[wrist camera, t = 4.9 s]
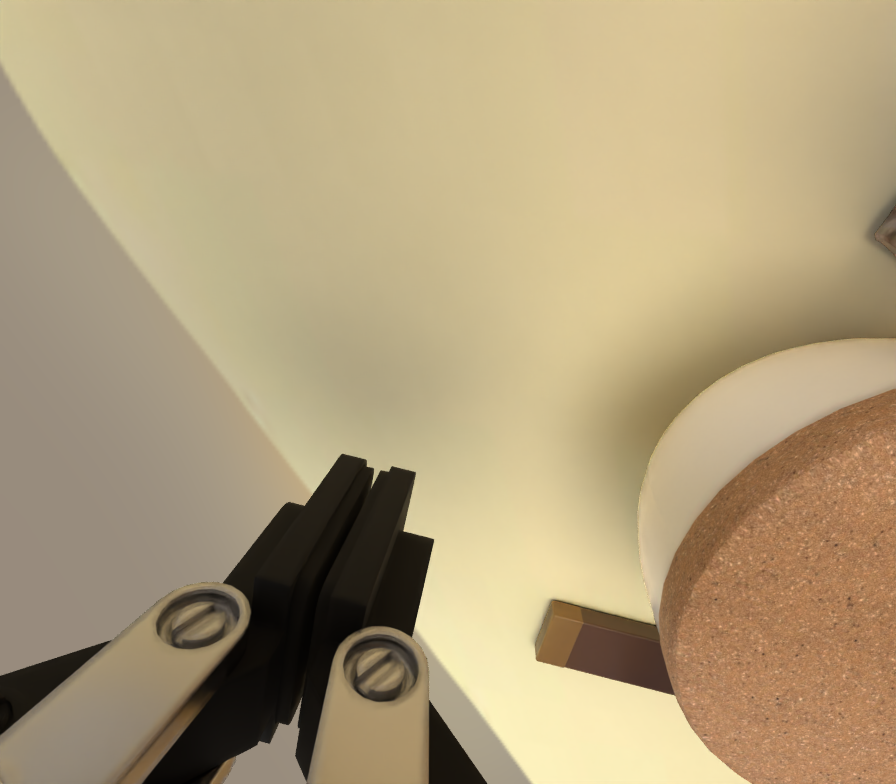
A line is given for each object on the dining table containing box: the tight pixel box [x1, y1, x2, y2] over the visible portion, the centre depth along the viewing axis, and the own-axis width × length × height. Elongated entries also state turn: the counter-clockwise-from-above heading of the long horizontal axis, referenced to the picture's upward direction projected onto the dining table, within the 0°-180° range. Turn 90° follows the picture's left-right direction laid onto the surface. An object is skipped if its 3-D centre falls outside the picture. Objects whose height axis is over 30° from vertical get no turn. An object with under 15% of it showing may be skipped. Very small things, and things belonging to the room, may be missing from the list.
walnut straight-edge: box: [535, 600, 675, 695], centre depth 19 cm, size 21×2×1 cm, turn 78°
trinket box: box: [638, 338, 896, 784], centre depth 12 cm, size 11×11×9 cm
